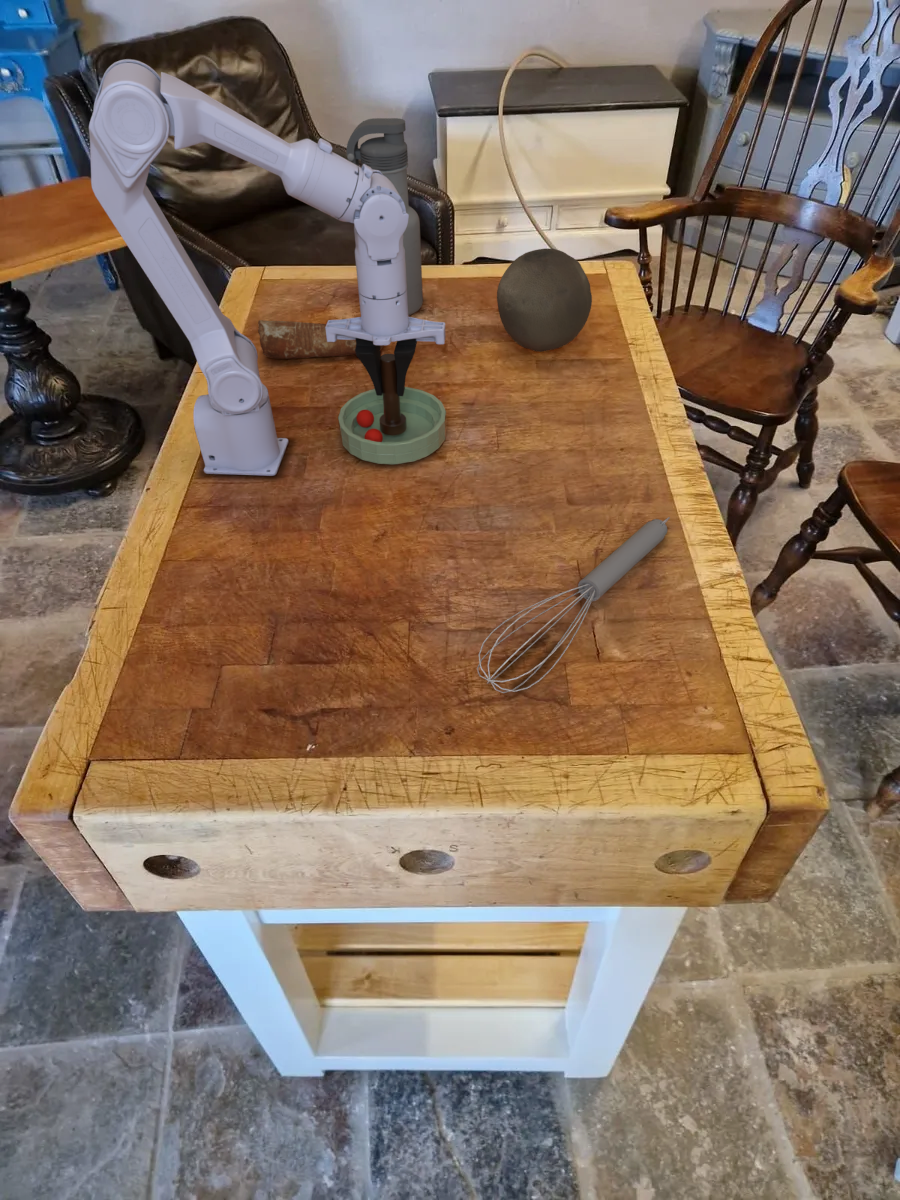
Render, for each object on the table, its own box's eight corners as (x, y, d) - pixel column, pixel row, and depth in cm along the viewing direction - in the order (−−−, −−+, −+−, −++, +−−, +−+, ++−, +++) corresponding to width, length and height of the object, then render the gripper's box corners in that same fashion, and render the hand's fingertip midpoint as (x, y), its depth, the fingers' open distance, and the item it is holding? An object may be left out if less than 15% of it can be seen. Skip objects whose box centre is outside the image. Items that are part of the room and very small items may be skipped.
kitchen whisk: (689, 537, 93) (699, 494, 88) (513, 721, 75) (515, 678, 71) (643, 516, 96) (651, 473, 91) (463, 688, 78) (462, 645, 73)
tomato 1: (367, 432, 108) (354, 428, 109) (378, 424, 110) (364, 420, 111) (365, 416, 107) (351, 412, 108) (376, 408, 108) (362, 405, 109)
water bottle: (358, 319, 133) (339, 131, 113) (368, 293, 140) (352, 111, 120) (419, 321, 132) (410, 131, 113) (426, 295, 139) (419, 112, 119)
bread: (264, 347, 127) (258, 313, 123) (385, 343, 127) (382, 310, 123) (259, 367, 122) (253, 333, 118) (384, 363, 123) (381, 329, 119)
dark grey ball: (497, 327, 130) (500, 233, 120) (584, 330, 129) (595, 234, 119) (493, 371, 120) (495, 272, 110) (587, 374, 119) (599, 275, 109)
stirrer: (377, 434, 107) (370, 362, 100) (383, 420, 109) (378, 349, 102) (403, 436, 106) (398, 365, 99) (409, 422, 109) (405, 352, 102)
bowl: (333, 465, 104) (329, 443, 102) (350, 407, 114) (348, 385, 112) (441, 469, 103) (440, 446, 101) (449, 409, 113) (449, 387, 111)
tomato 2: (362, 442, 107) (362, 426, 105) (379, 440, 107) (379, 424, 106) (367, 451, 105) (367, 435, 103) (384, 449, 106) (385, 433, 104)
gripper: (315, 303, 92) (329, 406, 101) (441, 305, 91) (443, 410, 100) (326, 277, 97) (339, 378, 106) (445, 279, 96) (447, 381, 105)
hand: (390, 391), depth 104 cm, fingers closed on stirrer, 2 cm apart
